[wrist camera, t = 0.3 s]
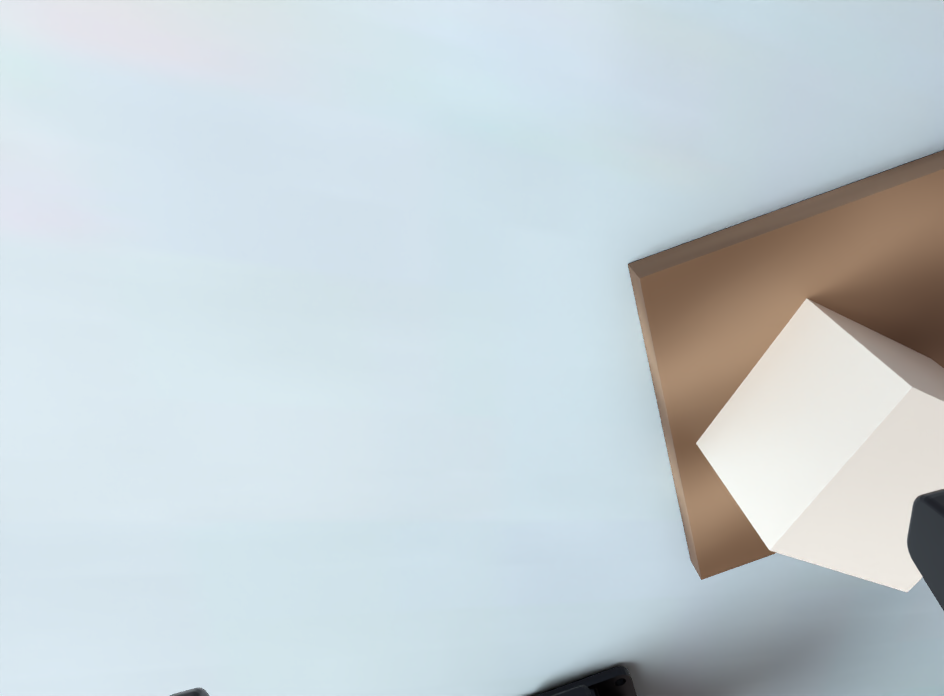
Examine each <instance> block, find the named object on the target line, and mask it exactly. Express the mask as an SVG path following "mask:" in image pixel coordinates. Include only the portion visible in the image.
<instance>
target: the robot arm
mask: <svg viewBox="0 0 944 696" xmlns="http://www.w3.org/2000/svg"><path fill="white" fill-rule="evenodd" d="M907 548H908V551H909V554H910V556H911V559H912V560H913V562H914V564H915V565H916V567H917V569H918V570H919V572H920V573H921V575H922V577H923V578H924V580H925V581H926V583H927V585H928V586H929V588H930V589H931V591H932V593H933V594H934V596H935V597H936V599H937V601H938V602H939V604H940V605H941V607H942V609H943V610H944V489H940V490H937V491H933V492H929V493H925V494H922V495H919V496H918V497H917V498H916V499H915V500H914V502H913V506H912V512H911V518H910V524H909V530H908V535H907ZM170 696H209V694H208V693H207V692H206V690H204V689H202V688H194V689H190V690H187V691H183V692H179V693H175V694H173V695H170ZM537 696H637V695H636V692H635V689H634V685H633V682H632V679H631V676H630V674H629V671H628V670H627V668H625V667H616V668H613V669H610V670H607V671H604V672H602V673H599V674H596V675H593V676H590V677H587V678H585V679H582V680H579V681H576V682H573V683H571V684H568V685H565V686H562V687H559V688H557V689H554V690H551V691H548V692H545V693H543V694H540V695H537Z"/></svg>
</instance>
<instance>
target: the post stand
mask: <svg viewBox="0 0 944 696" xmlns="http://www.w3.org/2000/svg"><path fill="white" fill-rule="evenodd" d="M628 268H629V272H630V277H631V282H632V286H633V291H634V296H635V301H636V305H637V310H638V315H639V319H640V324H641V329H642V333H643V338H644V343H645V348H646V352H647V357H648V362H649V366H650V371H651V376H652V380H653V385H654V390H655V395H656V399H657V404H658V409H659V413H660V418H661V423H662V427H663V432H664V437H665V442H666V446H667V451H668V456H669V460H670V465H671V470H672V475H673V479H674V484H675V489H676V493H677V498H678V503H679V507H680V512H681V517H682V522H683V526H684V531H685V536H686V540H687V545H688V550H689V554H690V559H691V562H692V564H693V565H694V567H695V569H696V571H697V573H698V574H699V576H700V578H701V580H702V579H705V578H708V577H711V576H713V575H716V574H719V573H722V572H725V571H727V570H730V569H733V568H736V567H739V566H741V565H744V564H747V563H750V562H753V561H755V560H758V559H761V558H764V557H767V556H769V555H772V554H775V553H776V552H773V551H770V550H769V549H768V548H767V546H766V545H765V543H764V542H763V540H762V539H761V537H760V536H759V534H758V533H757V532H756V530H755V529H754V527H753V526H752V524H751V523H750V521H749V520H748V518H747V517H746V516H745V514H744V513H743V511H742V510H741V508H740V507H739V505H738V504H737V502H736V501H735V499H734V498H733V497H732V495H731V494H730V492H729V491H728V489H727V488H726V486H725V485H724V483H723V482H722V480H721V479H720V478H719V476H718V475H717V473H716V472H715V470H714V469H713V467H712V466H711V464H710V463H709V462H708V460H707V459H706V457H705V456H704V454H703V453H702V451H701V450H700V448H699V447H698V445H697V444H696V442H697V441H698V440H699V439H700V437H701V436H702V435H703V433H704V432H705V431H706V429H707V428H708V427H709V425H710V424H711V423H712V422H713V420H714V419H715V418H716V416H717V415H718V414H719V412H720V411H721V410H722V408H723V407H724V406H725V404H726V403H727V402H728V401H729V399H730V398H731V397H732V395H733V394H734V393H735V391H736V390H737V389H738V387H739V386H740V385H741V384H742V382H743V381H744V380H745V378H746V377H747V376H748V374H749V373H750V372H751V370H752V369H753V368H754V366H755V365H756V364H757V363H758V361H759V360H760V359H761V357H762V356H763V355H764V353H765V352H766V351H767V349H768V348H769V347H770V346H771V344H772V343H773V342H774V340H775V339H776V338H777V336H778V335H779V334H780V332H781V331H782V330H783V328H784V327H785V326H786V325H787V323H788V322H789V321H790V319H791V318H792V317H793V315H794V314H795V313H796V311H797V310H798V309H799V308H800V306H801V305H802V304H803V302H804V301H805V300H806V298H807V299H809V300H811V301H813V302H815V303H817V304H819V305H822V306H824V307H826V308H828V309H830V310H832V311H834V312H836V313H838V314H840V315H842V316H844V317H846V318H848V319H850V320H852V321H854V322H856V323H859V324H861V325H863V326H865V327H867V328H869V329H871V330H873V331H875V332H877V333H879V334H881V335H883V336H885V337H887V338H889V339H891V340H894V341H896V342H898V343H900V344H902V345H904V346H906V347H908V348H910V349H912V350H914V351H916V352H918V353H920V354H922V355H924V356H926V357H928V358H931V359H932V360H933V361H935V362H936V363H937V364H939V365H940V366H941V367H943V368H944V150H943V151H940V152H937V153H934V154H932V155H929V156H926V157H923V158H921V159H918V160H915V161H912V162H910V163H907V164H904V165H901V166H898V167H896V168H893V169H890V170H887V171H885V172H882V173H879V174H876V175H873V176H871V177H868V178H865V179H862V180H860V181H857V182H854V183H851V184H848V185H846V186H843V187H840V188H837V189H835V190H832V191H829V192H826V193H824V194H821V195H818V196H815V197H812V198H810V199H807V200H804V201H801V202H799V203H796V204H793V205H790V206H787V207H785V208H782V209H779V210H776V211H774V212H771V213H768V214H765V215H763V216H760V217H757V218H754V219H751V220H749V221H746V222H743V223H740V224H738V225H735V226H732V227H729V228H726V229H724V230H721V231H718V232H715V233H713V234H710V235H707V236H704V237H702V238H699V239H696V240H693V241H690V242H688V243H685V244H682V245H679V246H677V247H674V248H671V249H668V250H665V251H663V252H660V253H657V254H654V255H652V256H649V257H646V258H643V259H640V260H638V261H635V262H632V263H629V264H628Z"/></svg>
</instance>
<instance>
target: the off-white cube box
mask: <svg viewBox="0 0 944 696" xmlns="http://www.w3.org/2000/svg"><path fill="white" fill-rule="evenodd" d="M696 444H697V445H698V447H699V448H700V450H701V451H702V453H703V454H704V456H705V457H706V459H707V460H708V462H709V463H710V464H711V466H712V467H713V469H714V470H715V472H716V473H717V475H718V476H719V478H720V479H721V480H722V482H723V483H724V485H725V486H726V488H727V489H728V491H729V492H730V494H731V495H732V497H733V498H734V499H735V501H736V502H737V504H738V505H739V507H740V508H741V510H742V511H743V513H744V514H745V516H746V517H747V518H748V520H749V521H750V523H751V524H752V526H753V527H754V529H755V530H756V532H757V533H758V534H759V536H760V537H761V539H762V540H763V542H764V543H765V545H766V546H767V548H768V549H769V550H770V551H773V552H776V553H779V554H783V555H786V556H789V557H793V558H796V559H799V560H802V561H806V562H809V563H812V564H816V565H819V566H822V567H825V568H829V569H832V570H835V571H839V572H842V573H845V574H848V575H852V576H855V577H858V578H862V579H865V580H868V581H871V582H875V583H878V584H881V585H885V586H888V587H891V588H894V589H898V590H901V591H904V592H908V591H909V590H910V589H911V588H912V587H913V586H914V585H915V584H916V583H917V582H918V581H919V580H920V579H921V578H922V575H921V573H920V572H919V570H918V569H917V567H916V565H915V564H914V562H913V560H912V559H911V556H910V554H909V551H908V548H907V535H908V530H909V524H910V518H911V512H912V506H913V502H914V500H915V499H916V498H917V497H918V496H919V495H922V494H925V493H929V492H933V491H937V490H940V489H944V368H943V367H941V366H940V365H939V364H937V363H936V362H935V361H933V360H932V359H931V358H928V357H926V356H924V355H922V354H920V353H918V352H916V351H914V350H912V349H910V348H908V347H906V346H904V345H902V344H900V343H898V342H896V341H894V340H891V339H889V338H887V337H885V336H883V335H881V334H879V333H877V332H875V331H873V330H871V329H869V328H867V327H865V326H863V325H861V324H859V323H856V322H854V321H852V320H850V319H848V318H846V317H844V316H842V315H840V314H838V313H836V312H834V311H832V310H830V309H828V308H826V307H824V306H822V305H819V304H817V303H815V302H813V301H811V300H809V299H807V298H806V300H805V301H804V302H803V304H802V305H801V306H800V308H799V309H798V310H797V311H796V313H795V314H794V315H793V317H792V318H791V319H790V321H789V322H788V323H787V325H786V326H785V327H784V328H783V330H782V331H781V332H780V334H779V335H778V336H777V338H776V339H775V340H774V342H773V343H772V344H771V346H770V347H769V348H768V349H767V351H766V352H765V353H764V355H763V356H762V357H761V359H760V360H759V361H758V363H757V364H756V365H755V366H754V368H753V369H752V370H751V372H750V373H749V374H748V376H747V377H746V378H745V380H744V381H743V382H742V384H741V385H740V386H739V387H738V389H737V390H736V391H735V393H734V394H733V395H732V397H731V398H730V399H729V401H728V402H727V403H726V404H725V406H724V407H723V408H722V410H721V411H720V412H719V414H718V415H717V416H716V418H715V419H714V420H713V422H712V423H711V424H710V425H709V427H708V428H707V429H706V431H705V432H704V433H703V435H702V436H701V437H700V439H699V440H698V441H697V442H696Z"/></svg>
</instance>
